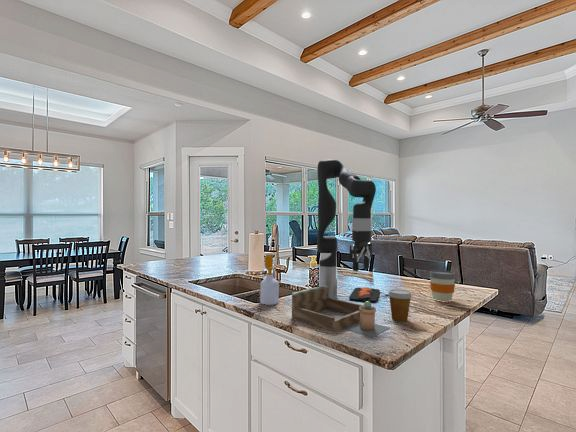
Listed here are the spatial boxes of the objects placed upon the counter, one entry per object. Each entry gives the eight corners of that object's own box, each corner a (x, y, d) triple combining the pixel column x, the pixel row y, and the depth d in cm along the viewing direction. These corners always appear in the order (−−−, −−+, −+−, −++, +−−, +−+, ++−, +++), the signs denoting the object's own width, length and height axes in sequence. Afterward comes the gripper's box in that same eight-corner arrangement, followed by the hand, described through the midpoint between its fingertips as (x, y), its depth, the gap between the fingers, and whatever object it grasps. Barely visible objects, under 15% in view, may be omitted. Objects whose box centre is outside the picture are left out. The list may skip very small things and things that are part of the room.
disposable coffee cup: (406, 316, 141) (406, 289, 141) (415, 323, 132) (415, 294, 132) (384, 316, 141) (385, 288, 141) (392, 323, 132) (392, 294, 132)
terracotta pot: (364, 324, 129) (364, 298, 129) (378, 328, 125) (379, 301, 125) (355, 328, 124) (356, 301, 124) (370, 332, 120) (371, 304, 120)
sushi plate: (355, 290, 194) (355, 283, 194) (408, 294, 184) (408, 288, 184) (348, 301, 167) (348, 294, 167) (409, 308, 157) (409, 300, 157)
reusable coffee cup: (457, 304, 162) (457, 275, 162) (430, 302, 166) (430, 273, 166) (453, 298, 174) (453, 271, 174) (428, 296, 178) (428, 269, 178)
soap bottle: (262, 305, 155) (263, 255, 155) (258, 301, 164) (259, 253, 164) (280, 304, 157) (280, 254, 157) (275, 300, 166) (276, 252, 166)
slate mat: (363, 321, 134) (363, 320, 134) (390, 328, 126) (390, 327, 126) (344, 329, 124) (344, 328, 124) (372, 337, 116) (372, 336, 116)
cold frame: (325, 307, 154) (326, 284, 154) (367, 317, 138) (368, 292, 138) (291, 318, 136) (291, 293, 136) (335, 331, 121) (335, 303, 121)
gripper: (362, 228, 136) (361, 266, 137) (344, 229, 126) (343, 270, 126) (378, 229, 131) (377, 268, 132) (361, 230, 121) (360, 273, 121)
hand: (361, 269), depth 129 cm, fingers open, 8 cm apart
